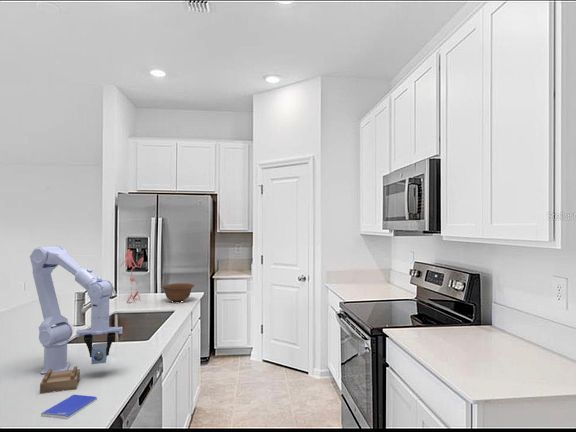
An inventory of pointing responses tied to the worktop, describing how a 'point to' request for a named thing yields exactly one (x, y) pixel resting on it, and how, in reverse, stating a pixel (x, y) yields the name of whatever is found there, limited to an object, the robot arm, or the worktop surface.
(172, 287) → the bowl
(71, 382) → the stand
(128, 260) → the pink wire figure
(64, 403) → the hard drive
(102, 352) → the housing
